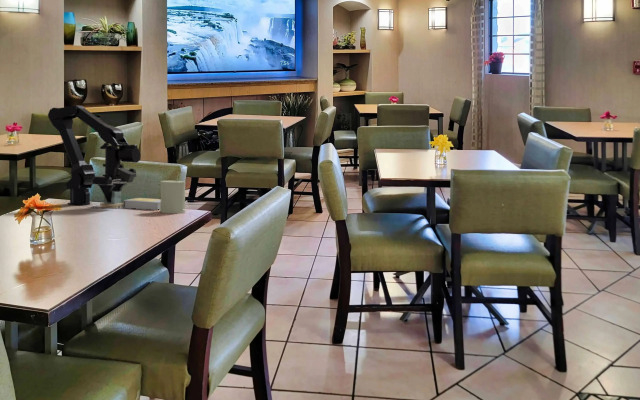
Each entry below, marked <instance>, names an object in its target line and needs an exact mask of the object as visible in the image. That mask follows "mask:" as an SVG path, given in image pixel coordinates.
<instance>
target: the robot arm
mask: <svg viewBox="0 0 640 400" xmlns="http://www.w3.org/2000/svg"><path fill="white" fill-rule="evenodd" d="M47 117H48V119H49V122H50V123H51V126H53V127H54V128H55V129H56V130H57V131H58V133H59V136H60V138H61V140H62V143H63V145H64V148H65V151H66V153H67V156H68V159H69V161H70V163H71V169H70V176H71V178H69V180H68V181H67V182H66V184H65V185H66V188H67V189H68V190H69V202H67V205H77V206H85V205H90V203H91V194H90V193H91V192H90V189H92V187H93V185H97V186H98V187H99V188H100V190H101V192H102V194H103V196H105V198H106V200H107V202H111V198H112V191H121V192H122V189H123V188H124V187H125V186H127V185H128V183H132V182H134V179H135V178H137V170H136V168H129V169H127V168H125V166H124V164H123V163H134V164H135V163H139V162H140V160H141V155H142V154H141V151H140V149H139V147H138V144H130V143H129V142H128V141H127V138H126V137H125V136H124V132H123V130H121V129H120V128H118V127H116V126H113V125H110V124H107V123H105V122H104V121H103V120H102V119H100V118H99V117H97V116H96V115H95V114H93V113H91V112H90V110H87V109H86V108H85V107H84V106H83V105H78V104H73V105H70V106H64V107H51V109H50V110H49V111H48V113H47ZM74 119H79V120H80V121H81V122H84V124H86V125H87V126H89V127H90V128H91V129H93V130H94V131H95V132H96V133H97V134H98V136H99V137H100V139H101V140H102V141H103V144H102V145H101V146H100V147H99V149H101V150H105V151H104V155H105V157H104V160H105V161H104V163H102V167H103V168H104V174H102V175H99V176H97V175H96V174H97V173H96V172H95V170H94V167H93V165H92V163H91V164H89V163H87V162H86V161H85V159H84V157H83V154H82V151H81V149H80V146H79V144H78V141H77V137H76V135H75V132H74V131H73V124H74Z"/></svg>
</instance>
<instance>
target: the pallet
mask: <svg viewBox="0 0 640 400" xmlns="http://www.w3.org/2000/svg"><path fill="white" fill-rule="evenodd" d="M103 196H104V195H103ZM103 199H104V200H103V201H104V202H100V203H99V208H107V209H121V208H124V202H122V190H121V191H112V198H111V202H107V200H106V198H105V196H104V197H103Z"/></svg>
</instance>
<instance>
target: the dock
mask: <svg viewBox="0 0 640 400" xmlns="http://www.w3.org/2000/svg"><path fill="white" fill-rule="evenodd" d="M123 203H124V207H123V209H131V208H136V209H135V210H146V209H151V210H150V211H159V210H158V209H160V205H161V198H160V199H159V198H146V197H143V198H142V197H135V198H130V199H123Z"/></svg>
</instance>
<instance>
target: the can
mask: <svg viewBox="0 0 640 400" xmlns="http://www.w3.org/2000/svg"><path fill="white" fill-rule="evenodd" d="M160 199H161V205H160V210H159V213H163V214H173V215H174V214H184V213H186V181H184V180H178V179H173V180H168V179H167V180H160ZM183 209H185V210H183Z"/></svg>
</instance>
